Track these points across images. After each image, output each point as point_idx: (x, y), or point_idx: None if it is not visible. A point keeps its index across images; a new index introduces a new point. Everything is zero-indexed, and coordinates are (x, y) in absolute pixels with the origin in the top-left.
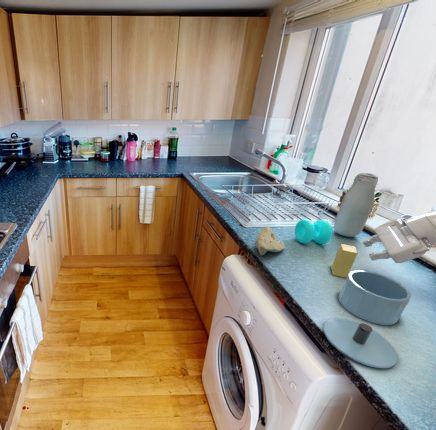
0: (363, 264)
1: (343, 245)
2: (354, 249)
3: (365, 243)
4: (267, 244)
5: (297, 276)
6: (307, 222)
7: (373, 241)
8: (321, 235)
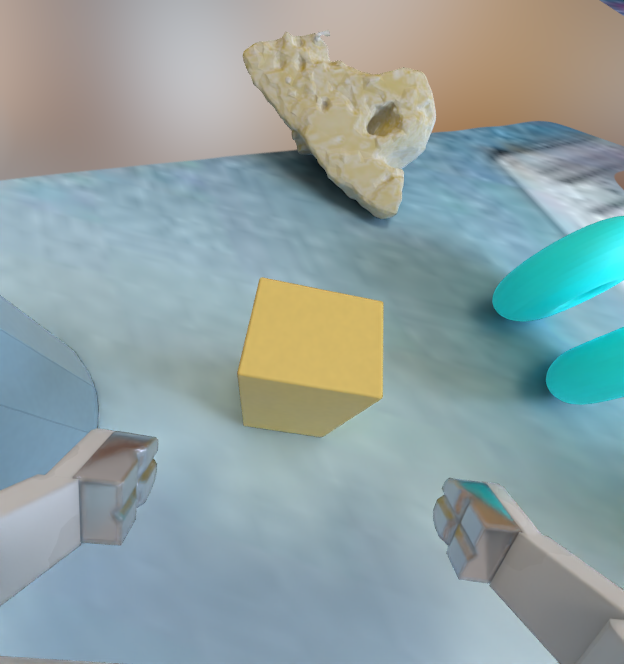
0: (462, 586)
1: (353, 308)
2: (311, 371)
3: (454, 494)
4: (285, 82)
5: (187, 225)
6: (612, 222)
7: (540, 612)
8: (581, 346)
